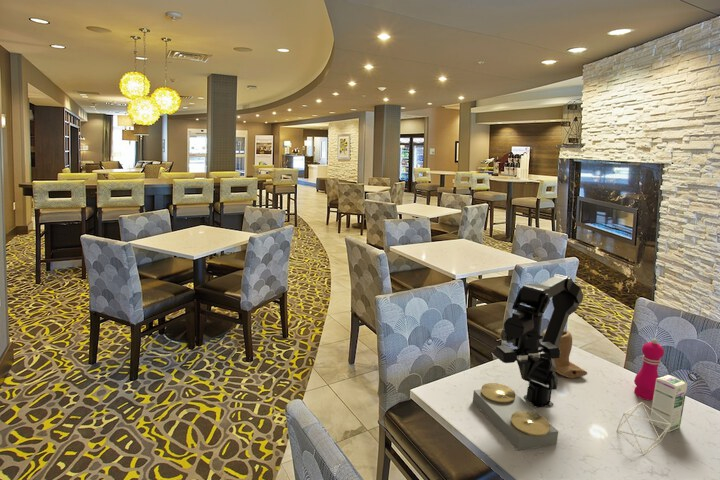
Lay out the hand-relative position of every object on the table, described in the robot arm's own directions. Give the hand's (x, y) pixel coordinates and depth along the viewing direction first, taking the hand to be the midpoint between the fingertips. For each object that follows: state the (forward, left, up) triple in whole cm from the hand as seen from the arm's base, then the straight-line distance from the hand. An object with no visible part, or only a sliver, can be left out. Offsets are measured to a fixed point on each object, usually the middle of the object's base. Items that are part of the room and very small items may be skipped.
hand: (523, 379), depth 134 cm
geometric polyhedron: (-26, +18, -12) cm, 34 cm away
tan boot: (-32, -23, -12) cm, 41 cm away
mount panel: (+4, +2, -12) cm, 13 cm away
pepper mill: (-49, -2, -12) cm, 51 cm away
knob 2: (+4, +10, -12) cm, 16 cm away
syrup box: (-40, +13, -12) cm, 44 cm away
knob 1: (+4, -6, -11) cm, 14 cm away
